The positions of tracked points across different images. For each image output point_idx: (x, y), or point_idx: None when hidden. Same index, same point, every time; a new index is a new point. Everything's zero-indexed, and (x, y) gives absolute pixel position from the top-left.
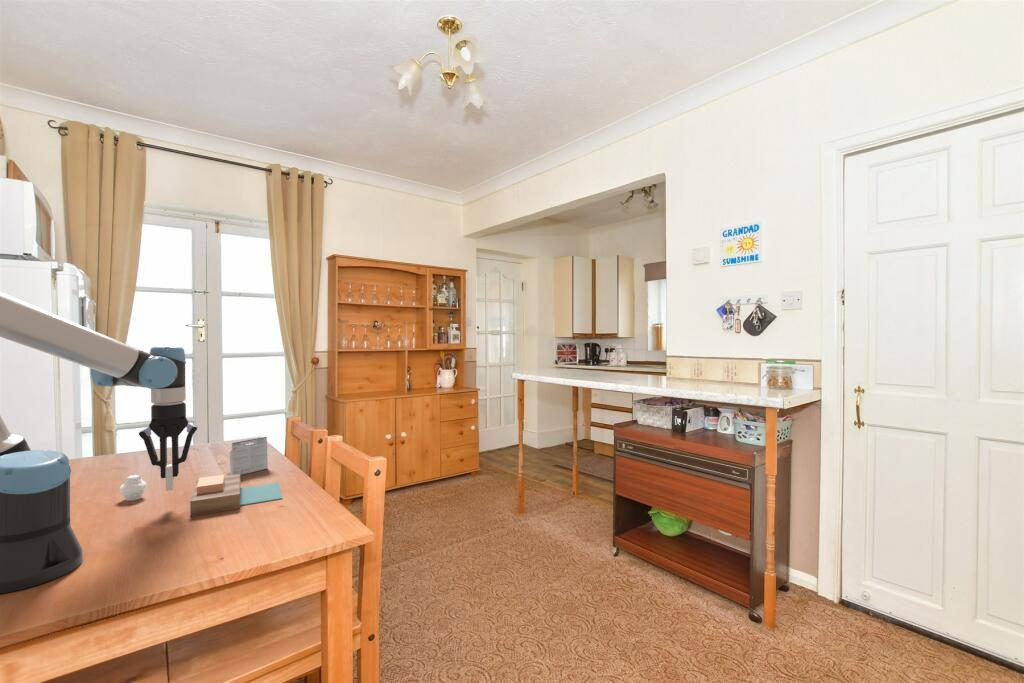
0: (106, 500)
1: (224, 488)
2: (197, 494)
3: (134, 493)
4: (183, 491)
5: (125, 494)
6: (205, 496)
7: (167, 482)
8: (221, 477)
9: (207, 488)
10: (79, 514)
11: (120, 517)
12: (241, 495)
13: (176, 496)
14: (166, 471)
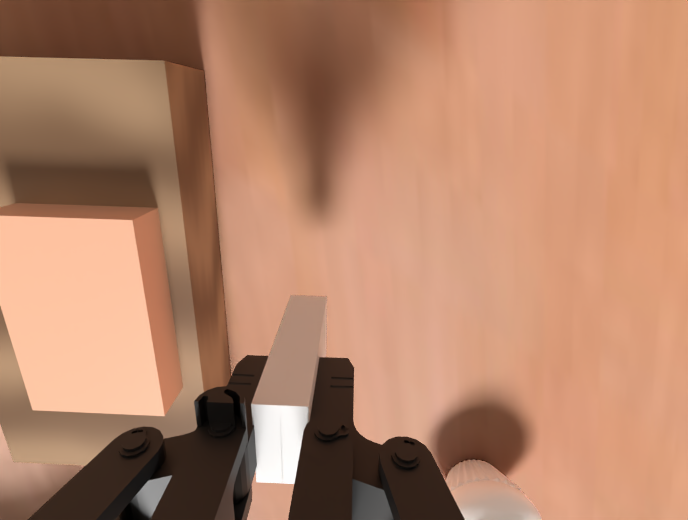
0: (561, 507)
1: None
2: (153, 201)
3: (476, 476)
4: None
5: (510, 482)
6: (92, 125)
7: (311, 324)
8: (29, 357)
9: (81, 211)
10: (656, 394)
11: (513, 261)
12: None
13: None
14: (306, 375)
